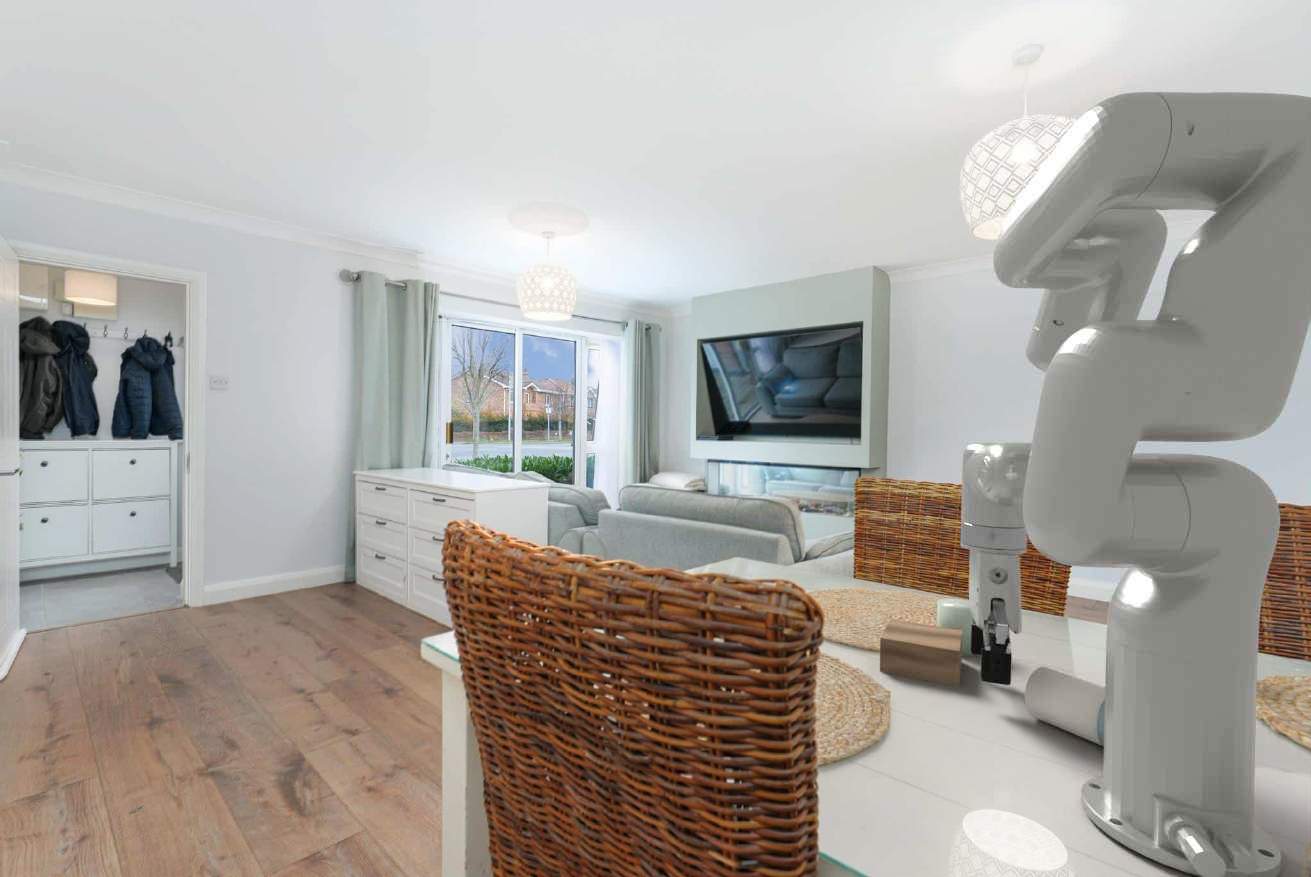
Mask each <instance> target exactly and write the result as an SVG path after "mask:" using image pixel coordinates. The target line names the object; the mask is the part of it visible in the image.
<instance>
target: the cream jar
mask: <svg viewBox="0 0 1311 877" xmlns="http://www.w3.org/2000/svg"><path fill="white" fill-rule="evenodd" d="M1024 704H1025V708H1026V710H1027V712H1028V713H1029V715H1030V716H1031V717H1033V718H1035V719H1037V720H1040V721H1042V722H1044V723H1046V724H1048V725H1049V724H1050V725H1052V726H1054V727H1057V728H1059V729H1061V730H1064V731H1065V732H1068V733H1071V734H1073V735H1074V736H1075V735H1076V736H1078V737H1080V738H1082V739H1085V740H1087V741H1090V742H1092V743H1094V744H1096V745H1098V746H1099V745H1100V746H1101V747H1102V748H1104V723H1105V686H1103V685H1099V684H1097V683H1093V682H1090V681H1088V680H1086V679H1085V680H1084V679H1082V678H1079V677H1075V676H1072V675H1070V674H1067V673H1064V672H1063V671H1059V670H1055V669H1052V668H1049V667H1046V666H1041V667H1037V668H1036V669H1035V670H1034V671H1033V672H1032V673H1031V674H1030V676H1029V678H1028V680H1027V682H1026V685H1025V690H1024Z"/></svg>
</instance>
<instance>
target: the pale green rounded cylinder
mask: <svg viewBox="0 0 1311 877" xmlns="http://www.w3.org/2000/svg"><path fill="white" fill-rule="evenodd" d="M936 603H937V607H936V609H937V611H936V626H937V627H943V628H950V629H956V630H962V657H963V656H965V657H968V656H969V657H975V656H977V655H974V654H972V652H971V624H972V625H976V624H973V617H972V614H971V612H970V604H969V600H964V599H961V598H960V599H958V598H942V599H938V600H937V601H936Z"/></svg>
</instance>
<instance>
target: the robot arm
mask: <svg viewBox="0 0 1311 877" xmlns="http://www.w3.org/2000/svg"><path fill="white" fill-rule="evenodd" d="M1159 210H1160V211H1169V210H1170V211H1171V210H1173V211H1175V210H1176V211H1177V210H1178V211H1181V210H1183V211H1184V210H1185V211H1186V210H1189V211H1190V210H1191V211H1211V212H1213V213H1214V214H1213V215H1212V216H1210V217H1209V218H1208V219H1207V220H1206V221H1205V222H1203V224H1202V225H1200V226H1199V228H1197V230H1195V232H1194V233H1193V234H1192V235H1191V236H1190V237H1189V239H1188V240H1187V242H1186V243H1185V244H1184V245H1183V247H1182V248H1181V249H1180V251H1179V252H1178V254H1177V255H1176V256H1175V258H1174V260H1173V262H1172V263H1171V264H1172V265H1171V266H1170V269H1169V273H1168V277H1167V281H1166V287H1165V291H1164V295H1163V299H1162V303H1161V306H1160V310H1158V311H1159V312H1158V314H1157V316H1156V317H1155V319H1138V318H1139V315H1140V313H1141V309H1142V308H1143V304H1144V302H1145V299H1146V297H1147V294H1148V293H1149V292H1148V291H1149V289H1150V287H1151V284H1152V281H1153V278H1154V276H1155V274H1156V271H1157V268H1158V266H1159V263H1160V260H1161V258H1162V256H1163V253H1164V250H1165V246H1166V244H1167V238H1168V224H1167V222H1166V220H1165V218H1164V217H1163V215H1162V214H1161V213H1160V212H1158V211H1159ZM995 242H996V243H995V247H994V251H993V270H994V273H995V275H996V277H997V279H998V281H1000V282H1001V283H1002V285H1005V286H1007V287H1009V288H1013V289H1044V290H1043V294H1042V298H1041V299H1040V303H1039V307H1038V309H1037V310H1038V311H1037V313H1036V316H1035V320H1034V323H1033V327H1032V330H1031V333H1030V336H1029V338H1028V339H1029V340H1028V342H1027V344H1026V349H1025V350H1026V351H1025V355H1026V358H1027V360H1028V361H1029V362H1030V363H1031V364H1032V365H1033V366H1034V367H1036V368H1037V369H1038V370H1041V371H1043V372H1045V376H1044V380H1043V384H1042V388H1041V393H1040V396H1039V398H1040V399H1039V405H1038V408H1037V414H1036V419H1035V420H1036V421H1035V424H1034V425H1035V426H1034V431H1033V437H1032V442H975V443H971V444H968V445H967V446H966V447H965V449H964V451H963V453H962V469H961V470H962V473H961V474H962V476H961V508H960V510H961V512H960V513H961V514H960V519H961V520H960V547H961V548H963V549H966V550H969V562H968V563H969V566H968V569H969V570H968V599H969V600H968V601H969V604H970V612H971V614H972V617H973V624H976V625H972V624H971V652H972V654H974V655H976V656H980V679H981V681H983V682H984V683H990V684H997V685H1005V686H1009V685H1011V684H1012V645H1011V644H1012V643H1011V635H1010V630H1011V632H1012V633H1013V634H1015V635H1019V634H1021V632H1022V631H1023V630H1022V628H1023V627H1022V623H1023V622H1022V580H1021V579H1022V578H1021V565H1020V564H1021V563H1020V555H1023V554H1026V553H1027V547H1028V546H1027V543H1028V539H1029V541H1030V543H1031V544H1032V545H1033V547H1034V548H1035V549H1036V550H1037V552H1039V553H1040V554H1041V555H1042V556H1044V557H1045V558H1047V559H1049V560H1050V561H1053V562H1054V563H1059V564H1062V565H1066V566H1072V567H1081V568H1082V567H1083V568H1105V569H1106V568H1110V569H1111V568H1112V569H1113V568H1114V569H1116V568H1117V569H1127V570H1126V572H1125V573H1124V574H1123V576H1122V578H1121V579H1120V581H1119V583H1118V584H1117V585H1116V588H1115V589H1114V591H1113V594H1112V596H1111V599H1110V602H1109V606H1108V608H1107V609H1108V610H1107V618H1106V641H1105V643H1106V644H1105V648H1106V649H1105V683H1104V684H1105V686H1104V687H1105V723H1104V747H1103V772H1102V774H1103V775H1101V776H1096V777H1093V778H1090V779H1088V780H1087V781H1085V782H1084V783H1083V784H1082V788H1081V790H1080V792H1081V794H1080V795H1081V796H1080V801H1081V802H1080V803H1081V805H1082V808H1083V810H1084V812H1085V813H1086V815H1087V816H1088V818H1089V819H1090V820H1091V821H1092V822H1093V823H1094V824H1095V825H1096V826H1097V827H1098V828H1100V829H1101V830H1102V831H1103V832H1104V833H1105V834H1107V835H1108V836H1110V837H1111V839H1114V840H1115V841H1117V842H1118V843H1120V844H1122V845H1124V846H1125V847H1126V848H1128V849H1130V850H1132V851H1134V852H1136V853H1138V854H1139V855H1140V856H1141V855H1142V856H1144V857H1145V858H1148V859H1150V860H1151V861H1152V860H1153V861H1155V862H1157V863H1159V864H1161V865H1164V866H1166V867H1170V868H1172V869H1174V870H1177V871H1180V872H1183V873H1187V874H1190V875H1194V876H1197V877H1278V876H1279V874H1280V872H1281V870H1282V854H1281V853H1282V852H1281V850H1280V848H1279V846H1278V845H1277V843H1276V842H1275V841H1274V840H1273V839H1272V837H1271V836H1270V835H1269V834H1268V833H1267V832H1265V831H1264V830H1263V829H1262V828H1261V827H1260V826H1258V824H1256V823H1255V822H1254V819H1255V818H1254V815H1255V814H1254V813H1255V809H1254V808H1255V776H1256V774H1255V773H1256V772H1255V771H1256V769H1255V768H1256V761H1255V760H1256V738H1257V737H1256V732H1257V731H1256V728H1257V691H1258V690H1257V688H1258V661H1259V635H1260V634H1259V633H1260V630H1259V629H1260V620H1261V619H1260V617H1261V606H1262V599H1263V595H1264V594H1263V593H1264V588H1265V584H1266V580H1267V576H1268V572H1269V568H1270V566H1271V563H1272V559H1273V557H1274V552H1275V550H1276V546H1277V542H1278V539H1279V534H1280V526H1281V514H1280V506H1279V503H1278V501H1277V497H1276V496H1275V494H1274V492H1273V490H1272V489H1271V488H1270V485H1268V483H1267V482H1266V481H1265V480H1264V479H1263V478H1262V477H1260V475H1259V474H1257V473H1256V472H1254V471H1253V470H1252V469H1250V468H1247V467H1246V466H1245V465H1242V464H1239V463H1238V462H1235V461H1232V460H1229V459H1226V458H1220V457H1216V456H1210V455H1201V454H1194V453H1193V454H1191V453H1155V452H1154V453H1151V452H1150V453H1149V452H1147V453H1146V452H1142V453H1141V452H1139V453H1138V452H1137V453H1134V452H1135V448H1136V446H1137V443H1138V442H1164V443H1165V442H1167V443H1168V442H1171V443H1172V442H1175V443H1176V442H1177V443H1178V442H1179V443H1180V442H1181V443H1209V442H1210V443H1213V442H1231V441H1232V442H1233V441H1240V440H1245V439H1250V438H1252V437H1255V436H1258V435H1260V434H1262V433H1264V432H1266V431H1267V430H1268V429H1269V428H1271V427H1272V426H1273V425H1274V424H1275V423H1276V421H1277V420H1278V418H1279V417H1280V415H1281V413H1282V412H1283V409H1284V408H1285V405H1286V403H1287V400H1288V398H1289V395H1290V392H1291V389H1292V386H1293V383H1294V379H1295V376H1296V372H1297V369H1298V366H1299V362H1300V359H1301V355H1302V351H1303V347H1304V346H1305V345H1304V344H1305V342H1306V338H1307V335H1308V330H1309V327H1310V323H1311V96H1307V95H1306V96H1305V95H1299V94H1298V95H1296V94H1287V93H1273V92H1270V93H1269V92H1241V91H1240V92H1237V91H1236V92H1235V91H1233V92H1232V91H1227V92H1226V91H1219V92H1217V91H1215V92H1213V91H1212V92H1184V91H1183V92H1175V91H1145V92H1144V91H1141V92H1140V91H1139V92H1127V93H1126V92H1125V93H1121V94H1116V95H1115V96H1110V97H1108V98H1106V99H1104V100H1101V101H1100V102H1097V103H1096V104H1095V105H1093V106H1092V107H1091V108H1090V109H1088V110H1087V111H1086V112H1085V113H1084V114H1083V115H1081V116H1080V117H1079V118H1078V119H1077V121H1075V123H1074V124H1073V125H1072V126H1071V127H1070V128H1069V130H1068V131H1067V132H1066V133H1065V135H1064V137H1063V138H1062V139H1061V140H1060V142H1059V143H1058V144H1057V145H1056V147H1055V148H1054V150H1053V151H1052V153H1051V154H1050V155H1049V156H1048V157H1047V159H1046V160H1045V162H1043V164H1042V165H1041V167H1040V169H1038V171H1036V173H1035V174H1034V176H1033V177H1032V179H1031V180H1030V181H1029V183H1028V184H1027V186H1026V187H1025V188H1024V190H1022V192H1021V194H1020V195H1019V197H1018V198H1017V200H1016V202H1015V203H1014V204H1013V206H1012V208H1011V209H1010V211H1009V213H1008V214H1007V216H1006V218H1005V220H1004V223H1003V224H1002V227H1001V229H1000V231H999V234H998V236H997V238H996V241H995Z"/></svg>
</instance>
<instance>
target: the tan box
mask: <svg viewBox="0 0 1311 877" xmlns="http://www.w3.org/2000/svg"><path fill="white" fill-rule="evenodd" d="M884 628H885V629H884V630H883V633H882V634H881V636H880V640H879V645H880V648H879V649H880V651H879V652H880V653H879V672H883V673H887V674H894V675H898V676H903V677H909V678H914V679H918V680H919V679H920V680H924V681H929V682H933V683H939V684H944V685H949V686H955V687H960V680H961V670H962V663H963V662H962V657H963V655H962V630H956V629H950V628H943V627H937V625H936V626H935V625H930V624H929V625H928V624H924V623H923V624H922V623H916V622H909V621H903V620H896V619H890V620H889V621H888V623H887V625H886V626H885V627H884Z"/></svg>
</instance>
